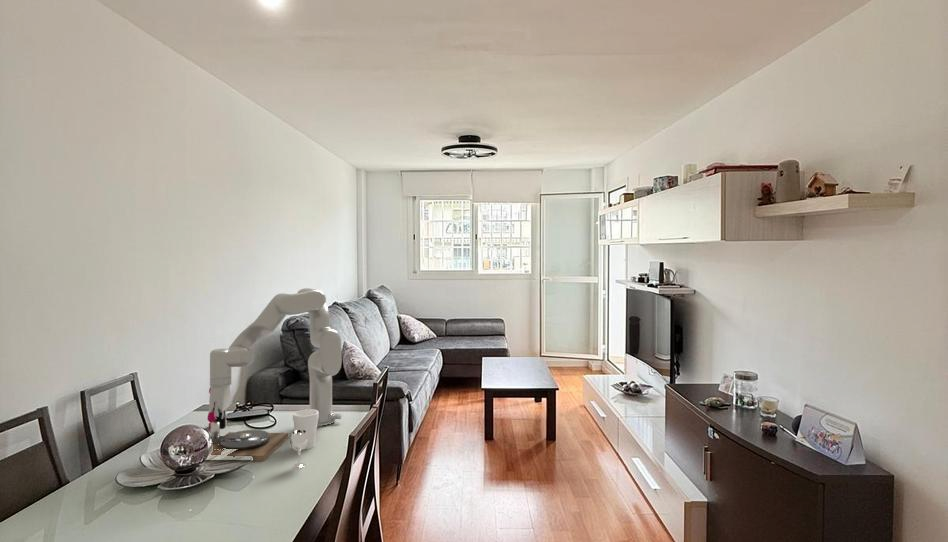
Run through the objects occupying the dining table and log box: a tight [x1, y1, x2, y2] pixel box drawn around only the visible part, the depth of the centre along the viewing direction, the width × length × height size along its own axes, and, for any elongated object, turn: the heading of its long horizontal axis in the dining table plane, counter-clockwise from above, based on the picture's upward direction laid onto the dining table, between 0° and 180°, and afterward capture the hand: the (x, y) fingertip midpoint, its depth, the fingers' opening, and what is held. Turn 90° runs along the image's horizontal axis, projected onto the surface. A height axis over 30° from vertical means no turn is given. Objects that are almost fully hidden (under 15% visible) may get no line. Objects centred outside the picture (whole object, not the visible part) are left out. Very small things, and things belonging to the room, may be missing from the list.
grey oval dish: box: [210, 421, 270, 449], centre depth 194 cm, size 22×17×7 cm
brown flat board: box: [211, 431, 289, 462], centre depth 194 cm, size 26×24×2 cm
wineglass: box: [289, 430, 308, 470], centre depth 178 cm, size 6×6×12 cm
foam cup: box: [292, 408, 319, 450], centre depth 197 cm, size 10×9×13 cm
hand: (220, 428), depth 199 cm, fingers closed
